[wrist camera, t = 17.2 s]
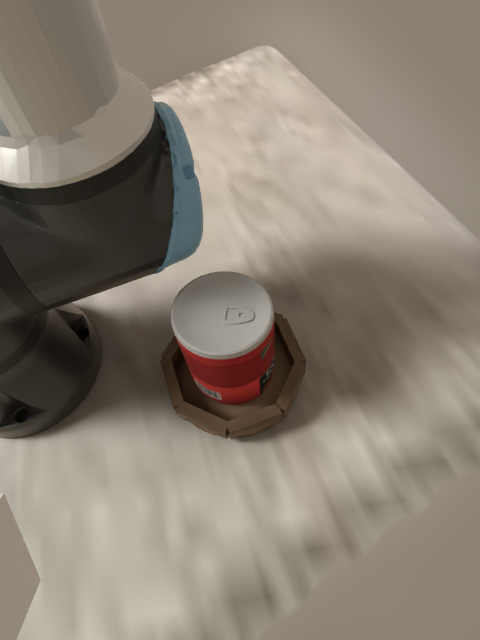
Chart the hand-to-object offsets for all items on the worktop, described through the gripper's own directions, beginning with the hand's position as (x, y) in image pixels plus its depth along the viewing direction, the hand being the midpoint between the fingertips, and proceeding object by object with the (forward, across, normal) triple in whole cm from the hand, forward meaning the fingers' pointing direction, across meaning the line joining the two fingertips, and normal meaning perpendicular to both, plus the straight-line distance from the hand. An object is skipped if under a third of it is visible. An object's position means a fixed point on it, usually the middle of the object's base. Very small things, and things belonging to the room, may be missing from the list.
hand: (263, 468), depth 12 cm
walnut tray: (+30, +1, -9) cm, 32 cm away
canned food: (+30, 0, -8) cm, 31 cm away
